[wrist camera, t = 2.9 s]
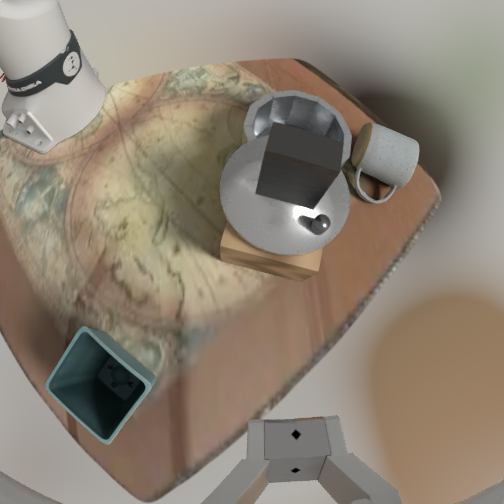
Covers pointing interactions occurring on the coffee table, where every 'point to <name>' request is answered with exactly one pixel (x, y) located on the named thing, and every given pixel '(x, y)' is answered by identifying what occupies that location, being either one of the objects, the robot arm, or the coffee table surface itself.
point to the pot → (296, 117)
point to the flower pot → (99, 383)
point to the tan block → (267, 258)
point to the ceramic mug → (384, 158)
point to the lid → (286, 191)
